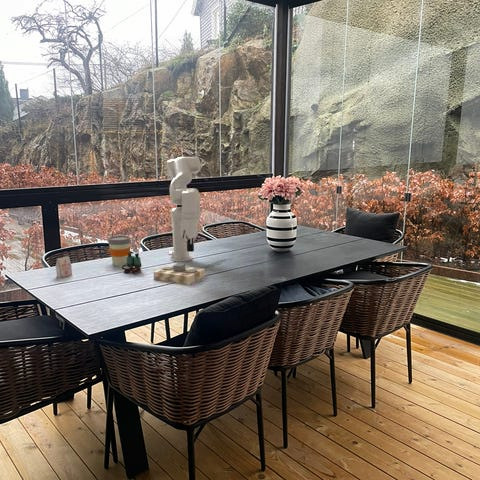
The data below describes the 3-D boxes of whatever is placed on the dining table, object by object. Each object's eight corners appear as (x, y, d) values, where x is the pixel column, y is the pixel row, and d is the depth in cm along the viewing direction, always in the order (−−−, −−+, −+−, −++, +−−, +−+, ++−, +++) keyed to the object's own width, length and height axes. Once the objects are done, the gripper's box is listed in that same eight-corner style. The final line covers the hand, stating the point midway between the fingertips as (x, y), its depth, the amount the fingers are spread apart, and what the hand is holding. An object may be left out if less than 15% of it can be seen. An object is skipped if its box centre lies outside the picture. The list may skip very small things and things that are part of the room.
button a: (162, 275, 254) (162, 268, 253) (167, 273, 258) (166, 266, 257) (169, 276, 252) (169, 269, 251) (174, 274, 256) (173, 267, 255)
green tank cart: (118, 256, 257) (128, 251, 266) (120, 275, 260) (130, 269, 269) (133, 258, 254) (142, 252, 263) (135, 276, 257) (144, 270, 266)
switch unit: (154, 279, 249) (153, 271, 249) (171, 271, 264) (170, 264, 263) (189, 284, 241) (189, 276, 240) (204, 276, 255) (204, 268, 254)
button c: (185, 279, 248) (185, 271, 247) (189, 276, 252) (189, 269, 251) (192, 280, 246) (192, 272, 246) (197, 277, 250) (196, 270, 249)
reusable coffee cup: (112, 266, 274) (110, 241, 271) (107, 261, 285) (105, 237, 282) (134, 264, 280) (132, 238, 277) (128, 259, 291) (127, 235, 288)
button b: (173, 272, 251) (173, 265, 250) (178, 270, 254) (178, 263, 254) (180, 273, 249) (180, 266, 248) (185, 271, 253) (185, 264, 252)
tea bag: (56, 276, 255) (55, 258, 253) (68, 273, 260) (66, 255, 258) (60, 277, 253) (59, 259, 251) (72, 275, 258) (70, 256, 256)
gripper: (190, 213, 251) (191, 247, 255) (175, 217, 238) (176, 253, 241) (203, 214, 248) (204, 248, 252) (188, 218, 234) (189, 255, 238)
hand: (190, 251), depth 246 cm, fingers closed
